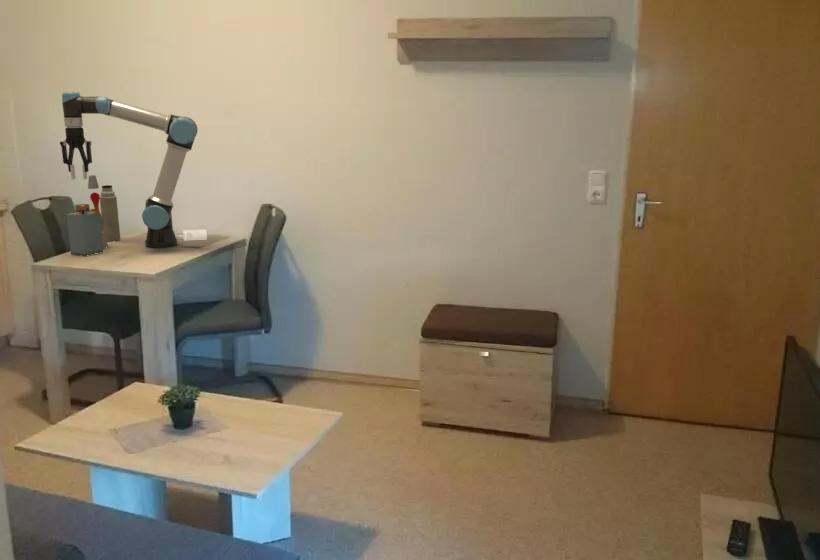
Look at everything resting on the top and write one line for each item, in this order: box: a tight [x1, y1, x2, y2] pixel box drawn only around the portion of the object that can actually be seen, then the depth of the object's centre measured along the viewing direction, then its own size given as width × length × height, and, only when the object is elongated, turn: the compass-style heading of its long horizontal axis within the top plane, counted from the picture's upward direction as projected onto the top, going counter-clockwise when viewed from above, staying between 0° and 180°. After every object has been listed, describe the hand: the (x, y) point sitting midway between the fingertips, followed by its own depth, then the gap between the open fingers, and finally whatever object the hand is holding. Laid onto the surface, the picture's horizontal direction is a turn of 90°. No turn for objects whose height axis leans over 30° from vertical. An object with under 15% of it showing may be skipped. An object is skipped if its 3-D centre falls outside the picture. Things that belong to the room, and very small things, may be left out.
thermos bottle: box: [99, 184, 121, 243], centre depth 390 cm, size 8×8×28 cm
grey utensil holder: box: [66, 211, 104, 257], centre depth 358 cm, size 10×10×19 cm
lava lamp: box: [87, 174, 109, 249], centre depth 371 cm, size 9×9×35 cm
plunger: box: [74, 203, 91, 214], centre depth 358 cm, size 8×8×22 cm
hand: (79, 179), depth 353 cm, fingers open, 5 cm apart
